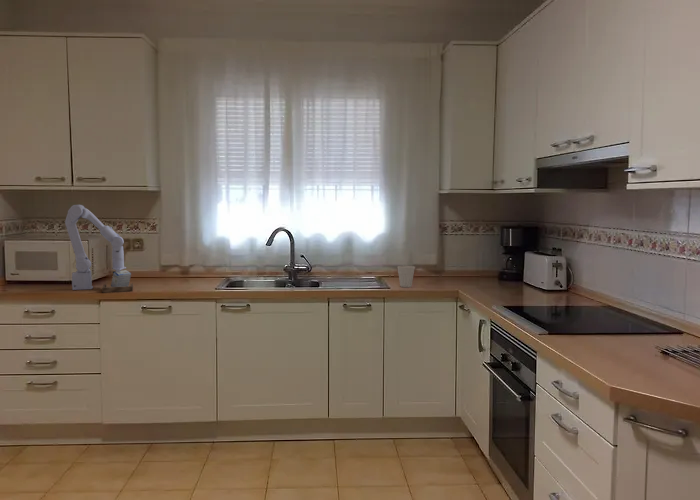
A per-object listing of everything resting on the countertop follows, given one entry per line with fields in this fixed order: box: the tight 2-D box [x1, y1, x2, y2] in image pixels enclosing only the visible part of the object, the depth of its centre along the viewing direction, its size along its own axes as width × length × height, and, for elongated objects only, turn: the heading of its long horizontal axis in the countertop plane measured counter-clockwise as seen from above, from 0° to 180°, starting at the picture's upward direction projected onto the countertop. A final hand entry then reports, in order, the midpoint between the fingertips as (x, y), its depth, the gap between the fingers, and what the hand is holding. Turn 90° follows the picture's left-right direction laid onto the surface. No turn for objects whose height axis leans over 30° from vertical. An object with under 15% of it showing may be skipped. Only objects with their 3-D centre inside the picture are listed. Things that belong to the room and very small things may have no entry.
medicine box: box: [110, 269, 132, 287], centre depth 315 cm, size 8×4×9 cm, turn 149°
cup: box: [396, 265, 416, 288], centre depth 326 cm, size 10×10×11 cm
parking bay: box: [101, 283, 134, 294], centre depth 310 cm, size 14×11×2 cm
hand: (118, 284), depth 319 cm, fingers closed
